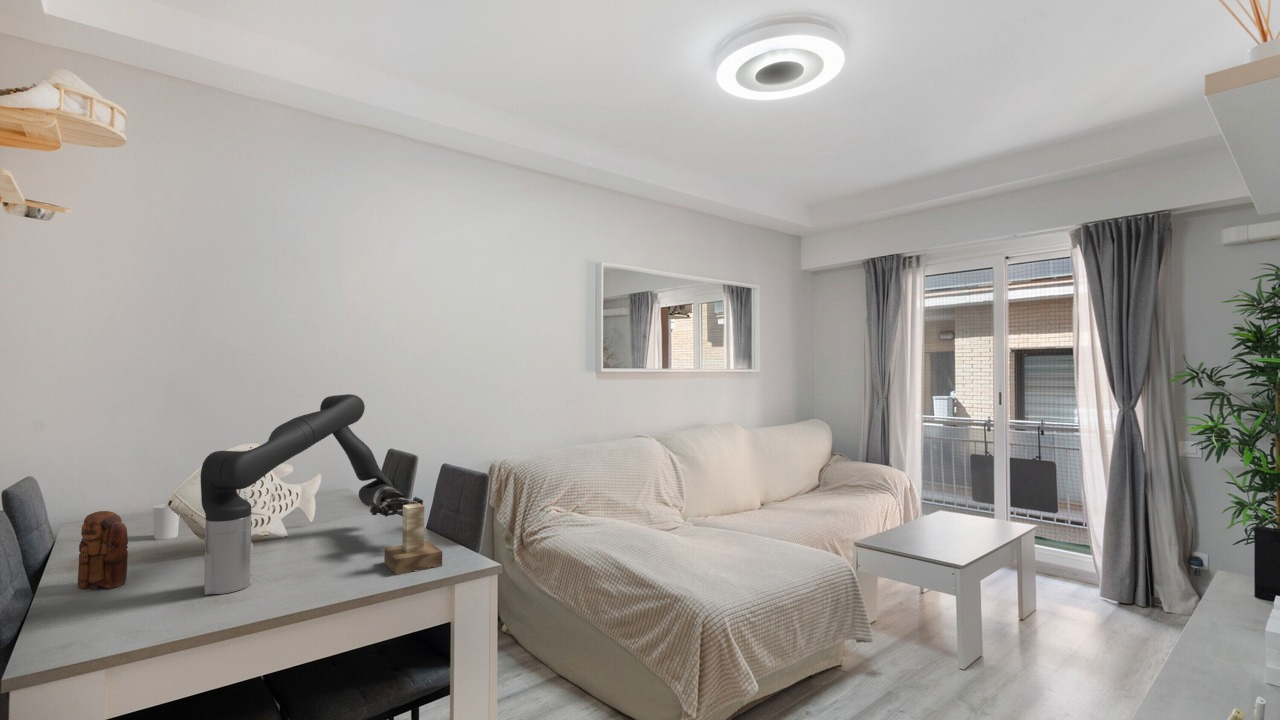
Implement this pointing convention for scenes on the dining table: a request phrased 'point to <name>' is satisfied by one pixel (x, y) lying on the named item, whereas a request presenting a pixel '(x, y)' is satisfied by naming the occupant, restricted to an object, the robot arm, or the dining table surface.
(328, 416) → the robot arm
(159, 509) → the drinking glass
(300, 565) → the dining table surface
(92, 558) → the wooden figurine
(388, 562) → the walnut plinth
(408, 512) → the birch pillar
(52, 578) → the dining table surface
